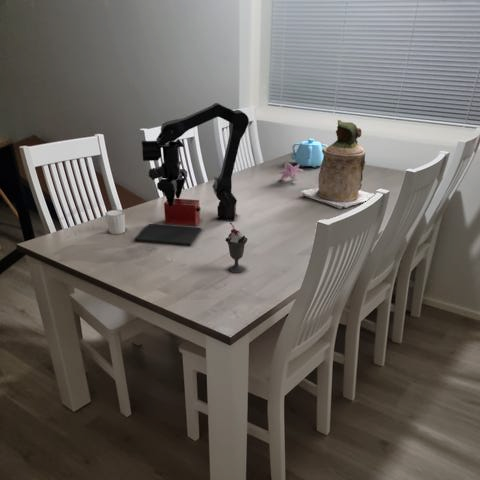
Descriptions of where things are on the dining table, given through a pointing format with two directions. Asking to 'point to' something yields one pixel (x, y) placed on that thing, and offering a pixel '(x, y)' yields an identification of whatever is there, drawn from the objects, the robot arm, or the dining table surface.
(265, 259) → the dining table surface
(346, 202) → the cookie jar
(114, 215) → the shot glass
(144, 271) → the dining table surface
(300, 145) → the decorative pot
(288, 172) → the lily
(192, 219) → the toaster
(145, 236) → the placemat
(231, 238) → the sundae
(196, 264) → the dining table surface
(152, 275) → the dining table surface
